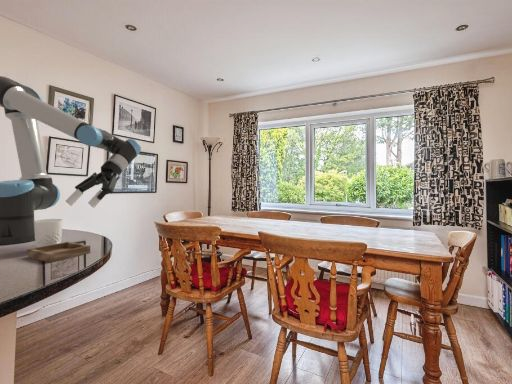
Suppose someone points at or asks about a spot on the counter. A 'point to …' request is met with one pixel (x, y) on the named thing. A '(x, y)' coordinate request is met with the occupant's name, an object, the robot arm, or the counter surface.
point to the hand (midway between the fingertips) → (79, 204)
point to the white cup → (47, 232)
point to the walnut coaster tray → (58, 251)
